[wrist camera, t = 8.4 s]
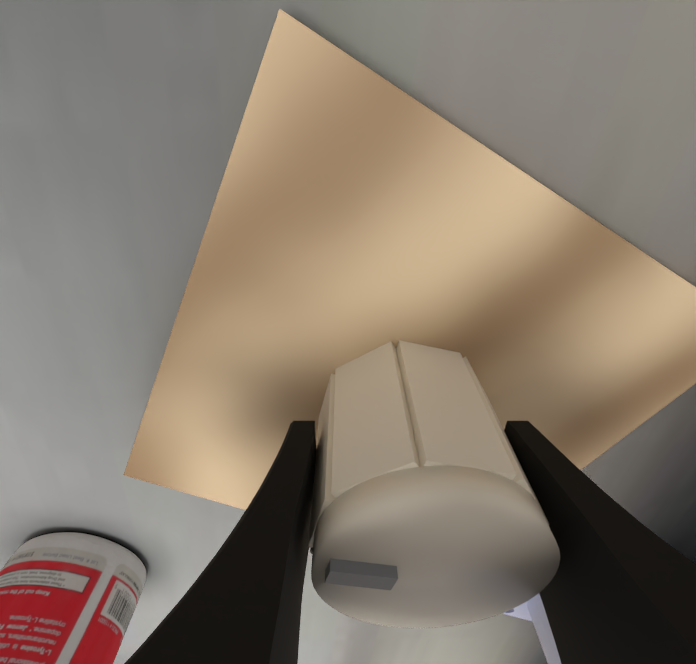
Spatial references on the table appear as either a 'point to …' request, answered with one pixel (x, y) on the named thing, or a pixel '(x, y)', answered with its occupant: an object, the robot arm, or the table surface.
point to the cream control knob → (421, 496)
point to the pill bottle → (67, 600)
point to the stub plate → (395, 282)
